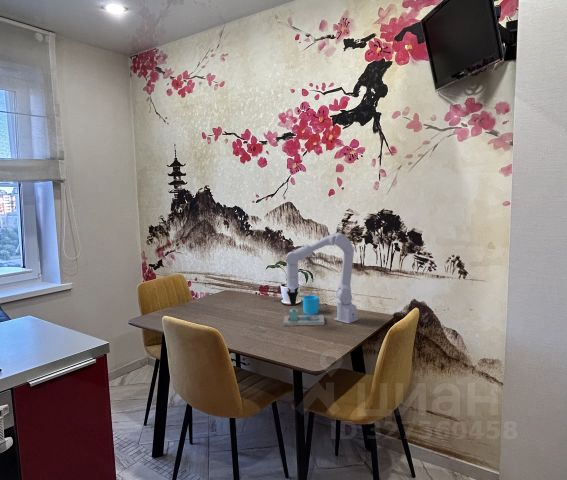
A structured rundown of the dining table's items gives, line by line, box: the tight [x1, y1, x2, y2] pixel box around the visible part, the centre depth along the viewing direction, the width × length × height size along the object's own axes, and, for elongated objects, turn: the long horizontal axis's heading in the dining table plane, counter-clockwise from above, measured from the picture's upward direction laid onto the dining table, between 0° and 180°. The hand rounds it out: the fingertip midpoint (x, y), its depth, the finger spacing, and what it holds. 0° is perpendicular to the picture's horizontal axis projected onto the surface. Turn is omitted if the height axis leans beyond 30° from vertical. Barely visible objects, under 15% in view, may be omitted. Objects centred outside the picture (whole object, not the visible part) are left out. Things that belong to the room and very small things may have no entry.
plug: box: [289, 307, 299, 321], centre depth 200 cm, size 4×4×7 cm
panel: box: [283, 314, 325, 327], centre depth 200 cm, size 20×11×2 cm, turn 87°
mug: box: [302, 294, 320, 315], centre depth 217 cm, size 12×8×8 cm
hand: (293, 302), depth 200 cm, fingers open, 7 cm apart
